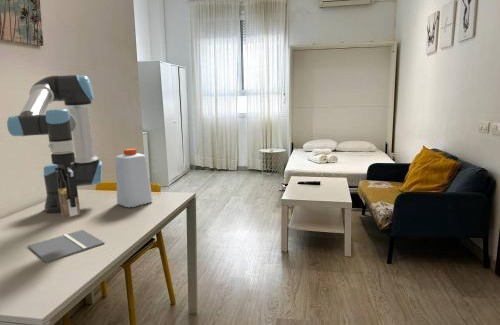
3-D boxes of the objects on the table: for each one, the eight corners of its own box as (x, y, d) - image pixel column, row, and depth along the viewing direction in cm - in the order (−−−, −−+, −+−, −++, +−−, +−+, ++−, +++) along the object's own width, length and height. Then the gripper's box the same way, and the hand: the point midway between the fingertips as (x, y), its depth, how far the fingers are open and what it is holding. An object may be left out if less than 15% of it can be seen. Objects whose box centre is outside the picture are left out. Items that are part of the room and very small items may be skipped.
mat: (28, 246, 135) (28, 244, 135) (82, 231, 149) (82, 229, 149) (46, 262, 121) (45, 260, 121) (104, 243, 135) (104, 241, 135)
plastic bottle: (141, 197, 196) (136, 146, 191) (155, 202, 186) (151, 148, 181) (114, 203, 186) (108, 150, 181) (128, 209, 176) (122, 152, 170)
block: (61, 214, 135) (57, 188, 133) (75, 211, 139) (71, 186, 137) (66, 217, 132) (62, 191, 130) (80, 214, 135) (77, 188, 133)
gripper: (43, 151, 134) (51, 211, 139) (60, 156, 122) (69, 221, 126) (64, 148, 139) (71, 206, 144) (83, 153, 127) (90, 216, 131)
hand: (70, 213), depth 135 cm, fingers closed on block, 5 cm apart
